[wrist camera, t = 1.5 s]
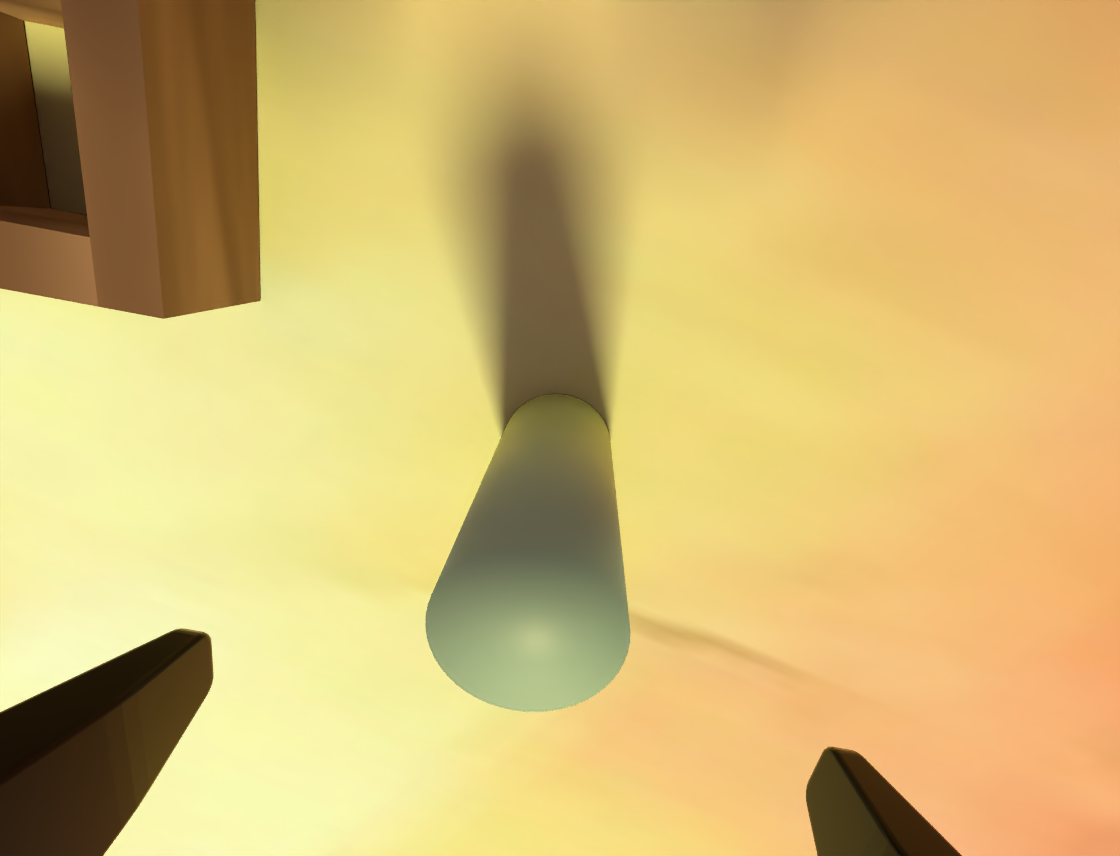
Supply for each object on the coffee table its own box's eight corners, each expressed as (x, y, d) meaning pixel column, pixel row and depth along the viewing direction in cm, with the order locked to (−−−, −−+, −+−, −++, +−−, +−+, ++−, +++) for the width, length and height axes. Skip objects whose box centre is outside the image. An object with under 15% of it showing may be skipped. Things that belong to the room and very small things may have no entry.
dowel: (620, 404, 17) (651, 566, 9) (598, 501, 18) (606, 726, 10) (511, 384, 17) (435, 527, 9) (496, 483, 18) (417, 692, 10)
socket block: (254, -6, 14) (129, -98, 10) (260, 300, 17) (163, 318, 13) (-49, -64, 14) (-288, -178, 10) (7, 253, 16) (-165, 257, 13)
